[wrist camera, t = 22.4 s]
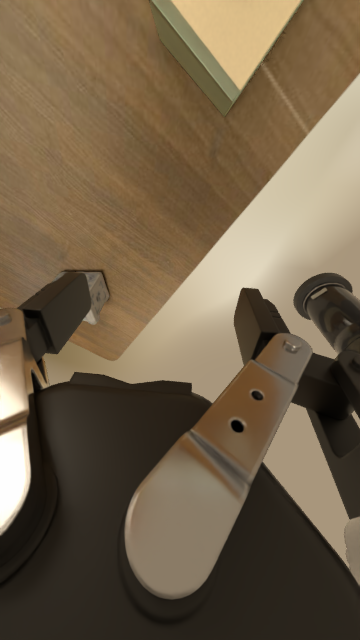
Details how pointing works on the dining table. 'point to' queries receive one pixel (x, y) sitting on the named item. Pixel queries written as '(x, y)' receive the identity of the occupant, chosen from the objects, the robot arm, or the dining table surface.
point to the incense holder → (94, 294)
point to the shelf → (221, 40)
